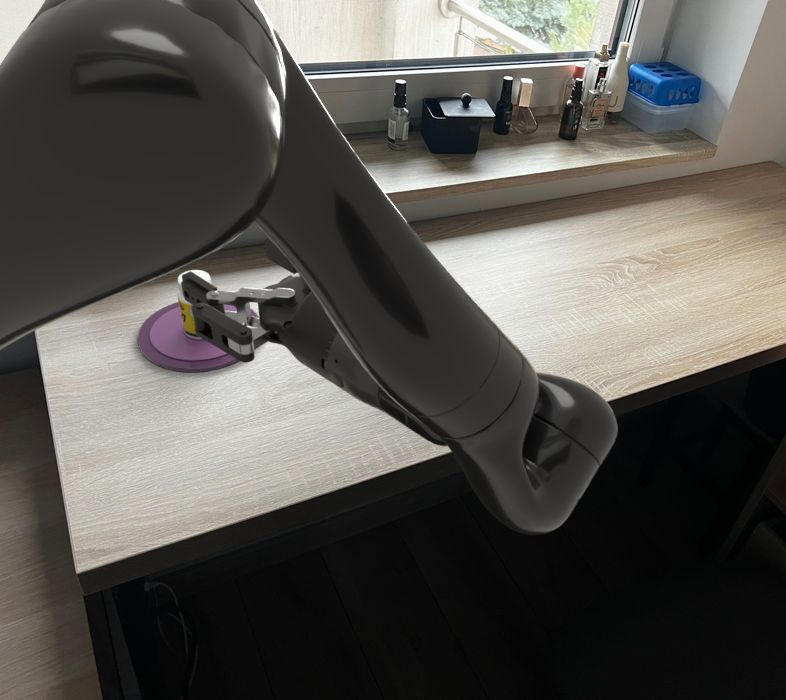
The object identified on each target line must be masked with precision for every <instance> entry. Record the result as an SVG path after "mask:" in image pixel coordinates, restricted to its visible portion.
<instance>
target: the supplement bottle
mask: <svg viewBox="0 0 786 700" xmlns="http://www.w3.org/2000/svg"><path fill="white" fill-rule="evenodd" d="M190 271H191V272H193V273H195V274H196V275H198V276H199V277H201V278H202V279H204V280H206V281H207V282H209V283H210V284H212V278H211V276H210V274H209V273H208V272H206V271H204V270H201V269H191V270H186V271H184V272H182V273H180V274H179V275H178V277H177V287H178V291H177V293H176V294H177V302H179V307H180V313H181V318H182V324H183V329H184V332H185V334H186V335H187V336H188V337H190V338H193V339H202V338H200V337H199V336H197V335H196V333H195V323H194V317H193V314H192V309H191V307H192V304H191V303H190V302H188V301H186V300H185V299H184V296H183V291H182V285H181V282H182V275H183V274H185V273H188V272H190Z"/></svg>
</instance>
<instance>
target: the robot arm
mask: <svg viewBox="0 0 786 700" xmlns="http://www.w3.org/2000/svg"><path fill="white" fill-rule="evenodd" d="M253 224H254V225H255V226H256V227H257V228H258V229H259V230H260V232H262V234H264V235H265V236H266V237H267V238H265V239H264V246H265V247H264V248H265V256H266V258H267V259H268V260H269V261H270V262H272V263H274V264H276V265H278V266H279V267H281V268H283V269H284V270H286V271H288V272H290V273H291V274H293V275H294V276H293V275H291V274H290V275H288V276H286V277H284V278H282V279H281V280H280V281H279V282H277V283H274V284H271V285H268V286H266V287H264V288H255V287H240V288H239V289H238V291H231V290H230V291H229V290H228V291H227V290H218V287H217V286H215V285H213V284H212V283H211V284H210V283H209V282H207V281H206V280H204V279H202V278H201V277H199V276H198V275H196V274H195V273H193V272H191V271H190V270H189V271H190V272H188V273H185V274H183V275H182V282H181V285H182V291H183V296H184V299H185V300H186V301H188V302H190V303H191V304H192V307H191V309H192V314H193V317H194V323H195V333H196V335H197V336H199V337H200V338H202V339H204V340H206V341H207V342H209V343H211V344H212V345H214V346H216V347H217V348H219V349H221V350H222V351H224V352H226V353H227V354H229V355H231V356H232V357H234V358H236V359H237V360H239V361H238V362H240V363H250V362H252V361H254V360H255V358H256V356H255V350H256V349H258V348H260V347H261V346H263V345H264V344H266V343H268V342H269V343H271V344H276V345H281V346H284V347H285V348H286V349H287V350H288V351H289V353H291V355H292V356H293V357H294V358H295V359H296V360H297V361H298V362H299V363H301V364H302V365H304V367H307V368H308V369H310V370H311V371H313V372H315V373H316V374H318V375H319V376H321V377H323V378H324V379H325V380H326V381H329V382H330V383H331V384H333V385H334V386H336V387H338V388H339V389H341V390H342V391H344V392H345V393H347V394H348V395H350V396H351V397H353V398H354V399H356V400H358V401H360V402H361V403H363V404H365V405H368V406H370V407H373V408H374V409H376V410H379V411H381V413H382V412H383V413H384V414H386V415H387V416H389V417H390V418H392V419H394V420H395V421H396V422H398V423H400V424H401V425H403V426H404V427H406V428H407V429H409V430H410V431H412V432H414V433H415V434H416V435H418V436H419V437H421V438H423V439H424V440H426V441H428V442H429V443H431V444H434V445H436V446H440V447H448V448H449V450H450V452H451V453H452V455H453V456H454V458H455V459H456V461H457V462H458V464H459V466H460V468H461V470H462V473H463V474H464V476H465V478H466V480H467V481H468V483H469V485H470V487H471V488H472V490H473V492H474V493H475V496H477V498H478V499H479V501H480V502H481V504H482V505H483V506H484V507H485V509H487V511H488V512H489V513H490V514H491V515H492V517H494V518H495V519H497V520H498V521H499V522H500V523H501V524H503V525H504V526H505V527H507V528H509V529H511V530H512V531H515V532H517V533H520V534H523V535H524V534H525V535H529V536H538V535H539V536H540V535H546V534H549V533H552V532H554V531H556V530H558V529H559V528H560V527H561V526H563V525H564V524H565V523H566V521H568V519H569V518H570V516H571V514H572V513H573V512H574V511H575V508H576V507H577V505H578V504H579V502H580V499H581V498H582V497H583V495H584V494H585V492H586V490H587V489H588V487H589V485H591V482H592V481H593V479H594V478H595V476H596V474H597V473H598V472H599V470H600V467H601V466H602V465H603V464H604V462H605V460H606V459H607V457H608V456H609V454H610V452H611V450H612V449H613V447H614V445H615V444H616V441H617V438H618V435H619V425H618V419H617V417H616V415H615V412H614V410H613V408H612V407H611V405H610V404H609V403H608V401H607V400H606V399H605V398H604V397H603V396H602V395H601V394H600V393H598V392H597V391H596V390H594V389H593V388H591V387H589V386H588V385H585V384H584V383H582V382H579V381H576V380H574V379H571V378H568V377H565V376H561V375H557V374H551V373H547V372H542V371H537V370H536V369H535V367H534V365H533V364H532V363H531V361H530V360H529V358H528V357H527V356H526V354H524V352H523V351H522V350H521V349H520V348H519V347H518V346H517V345H516V344H515V342H514V341H513V340H512V339H511V338H509V336H508V335H507V334H506V332H504V331H503V329H501V327H500V326H499V325H498V324H497V323H496V322H495V321H494V320H493V319H492V318H491V317H490V316H489V314H488V313H487V312H486V311H485V310H484V309H483V308H482V307H481V306H480V304H478V303H477V302H476V300H474V298H473V297H472V296H471V295H470V294H469V293H468V292H467V291H466V290H465V289H464V287H462V285H461V284H460V283H459V282H458V281H457V280H456V278H454V276H453V275H452V274H451V273H450V272H449V270H448V269H447V268H446V267H445V266H444V265H443V264H442V263H441V261H440V260H439V259H438V258H437V257H436V256H435V255H434V254H433V252H432V251H431V250H430V248H429V247H428V246H427V245H426V244H425V243H424V241H423V240H422V239H421V237H420V236H419V235H418V234H417V233H416V231H415V230H414V228H412V226H410V224H409V223H408V221H407V220H406V219H405V218H404V217H403V215H402V213H400V211H399V210H398V208H397V207H396V206H395V205H394V203H393V201H391V199H390V198H389V197H388V195H387V194H386V193H385V191H384V190H383V189H382V187H381V186H380V185H379V183H378V182H377V181H376V179H375V178H374V177H373V175H372V174H371V173H370V171H369V169H367V167H366V166H365V164H364V163H363V162H362V160H361V159H360V158H359V155H358V154H357V153H356V152H355V150H354V148H352V146H351V145H350V142H349V141H347V138H346V137H345V136H344V134H343V133H342V131H341V130H340V129H339V127H338V126H337V125H336V123H335V121H334V120H333V118H332V117H331V115H330V114H329V112H328V110H327V109H326V107H325V105H324V104H323V102H322V101H321V99H320V98H319V96H318V94H317V93H316V91H315V90H314V88H313V86H312V85H311V83H310V82H309V80H308V78H307V77H306V75H305V74H304V72H303V70H302V69H301V67H300V66H299V64H298V63H297V61H296V60H295V58H294V56H293V54H292V53H291V52H290V49H289V48H288V46H287V45H286V43H285V42H284V40H283V39H282V38H281V36H280V34H279V32H278V31H277V30H276V27H274V25H273V24H272V22H271V20H270V19H269V18H268V16H267V14H266V13H265V11H264V10H263V8H262V6H260V4H259V3H258V1H257V0H44V2H43V4H41V6H40V8H39V10H38V11H37V12H36V14H35V15H34V17H33V18H32V20H31V21H30V23H29V24H28V26H27V27H26V29H25V30H24V31H23V32H21V34H20V35H19V37H17V39H16V41H15V42H14V43H13V45H12V47H10V49H9V51H8V52H7V53H6V55H5V56H4V59H3V60H2V61H1V63H0V351H1V350H3V349H5V348H6V347H7V346H9V345H11V344H13V343H14V342H16V341H18V340H20V339H21V338H23V337H25V336H26V335H29V334H30V333H33V332H35V331H37V330H38V329H41V328H43V327H45V326H47V325H49V324H52V323H54V322H56V321H59V320H61V319H63V318H65V317H67V316H70V315H72V314H75V313H77V312H80V311H82V310H84V309H87V308H89V307H93V306H94V305H96V304H100V303H101V302H104V301H106V300H109V299H111V298H114V297H116V296H118V295H121V294H123V293H125V292H128V291H131V290H132V289H135V288H138V287H140V286H142V285H145V284H147V283H150V282H152V281H154V280H157V279H160V278H162V277H164V276H166V275H168V274H171V273H174V272H176V271H178V270H180V269H182V268H185V267H187V266H189V265H191V264H193V263H196V262H198V261H200V260H202V259H204V258H205V257H208V256H210V255H212V254H214V253H215V252H217V251H219V250H220V249H222V248H224V247H226V246H227V245H229V244H230V243H231V242H233V241H234V240H236V238H238V237H239V236H240V235H241V234H243V233H244V232H245V231H246V230H247V229H248V228H249V227H251V225H253ZM295 274H298V275H295ZM251 303H255V304H257V309H258V316H259V318H255V317H253V316H252V315H251V311H250V308H251ZM224 305H233V306H235V307H236V309H237V312H232V311H225V309H224Z"/></svg>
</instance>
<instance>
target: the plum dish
mask: <svg viewBox="0 0 786 700" xmlns="http://www.w3.org/2000/svg"><path fill="white" fill-rule="evenodd" d="M224 309H225V311H232V312H237V309H236V307H235V306H233V305H224ZM250 311H251V315H252V316H253V317H255V318H259V314H258V313H257V312H256V311H255V310H254V309H252V308H251V307H250ZM137 343H138V348H139V350H140V352H141V353H142V355H143V356H144V357H145V358H146V359H147V360H148V361H150V362H151V363H152V364H154V365H156V366H158V367H161V368H163V369H166V370H170V371H175V372H182V373H201V372H209V371H215V370H219V369H222V368H226V367H229V366H231V365H234V364H236V363H238V362H240V361H239V360H237V359H236V358H234V357H232V356H231V355H229V354H227V353H226V352H224V351H222V350H221V349H219V348H217V347H216V346H214V345H212V344H211V343H209V342H207V341H206V340H204V339H193V338H190V337H188V336H187V335H186V334H185V332H184V329H183V324H182V318H181V313H180V307H179V302H178V301H176V302H173V303H171V304H168V305H166V306H164V307H161V308H160V309H158V310H157V311H155V312H154V313H152V314H151V315H150V316H149V317H147V318H146V319H145V321H144V322H143V323H142V325H141V327H140V328H139V330H138V334H137Z"/></svg>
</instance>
